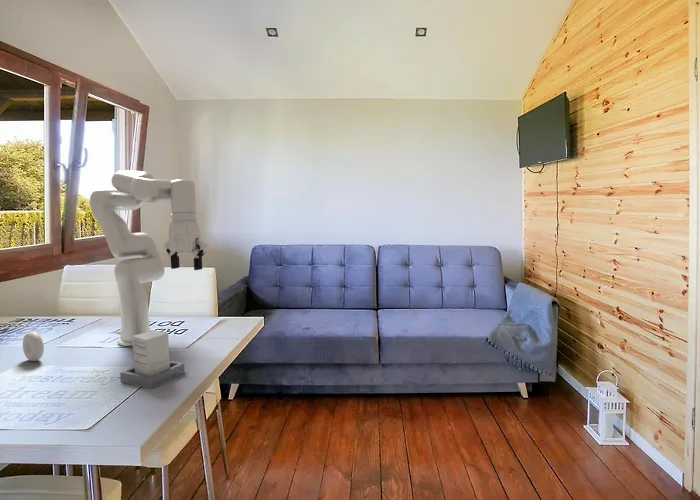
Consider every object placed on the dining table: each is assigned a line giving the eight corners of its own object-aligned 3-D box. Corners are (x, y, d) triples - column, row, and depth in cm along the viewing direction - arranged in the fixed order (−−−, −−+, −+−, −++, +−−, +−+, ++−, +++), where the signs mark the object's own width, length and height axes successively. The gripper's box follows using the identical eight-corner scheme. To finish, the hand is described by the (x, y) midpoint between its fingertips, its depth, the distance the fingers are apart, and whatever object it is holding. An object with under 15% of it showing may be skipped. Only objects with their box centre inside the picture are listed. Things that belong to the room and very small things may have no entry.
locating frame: (120, 382, 125) (120, 372, 124) (154, 367, 136) (153, 358, 136) (152, 388, 120) (152, 378, 120) (184, 372, 132) (184, 363, 131)
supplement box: (156, 368, 133) (154, 329, 132) (171, 373, 129) (169, 333, 128) (134, 376, 127) (131, 335, 126) (148, 382, 123) (145, 339, 122)
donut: (47, 362, 142) (44, 332, 141) (35, 365, 139) (32, 335, 138) (33, 356, 147) (31, 328, 146) (22, 359, 144) (19, 330, 143)
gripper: (155, 218, 140) (158, 269, 142) (196, 218, 134) (199, 271, 136) (172, 217, 147) (175, 266, 149) (212, 217, 141) (215, 268, 142)
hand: (186, 268), depth 142 cm, fingers open, 9 cm apart
